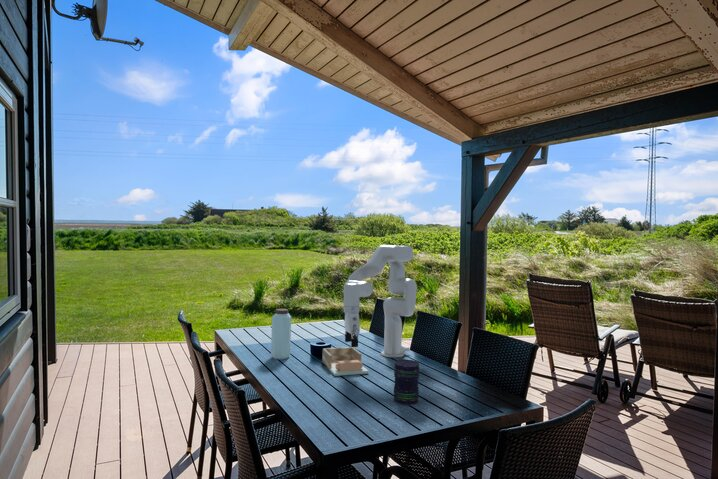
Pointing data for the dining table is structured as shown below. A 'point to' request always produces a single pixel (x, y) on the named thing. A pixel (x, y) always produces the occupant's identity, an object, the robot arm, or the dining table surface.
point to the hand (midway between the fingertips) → (351, 344)
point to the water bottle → (281, 334)
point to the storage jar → (406, 382)
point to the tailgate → (348, 372)
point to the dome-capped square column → (349, 365)
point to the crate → (339, 355)
